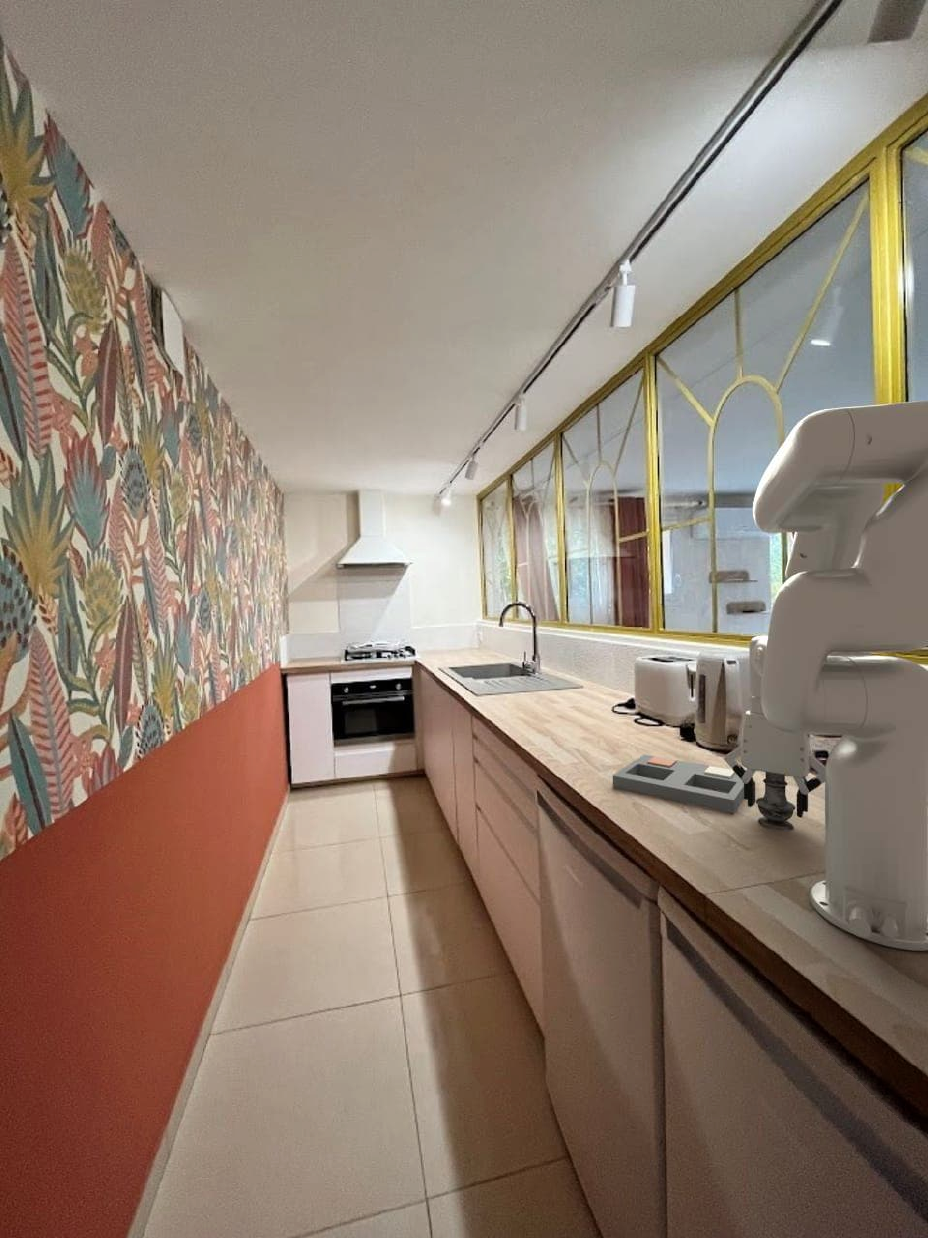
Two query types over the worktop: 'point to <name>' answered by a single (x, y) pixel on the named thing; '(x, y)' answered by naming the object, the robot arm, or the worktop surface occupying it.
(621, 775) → the socket board
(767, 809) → the salt shaker
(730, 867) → the worktop surface
